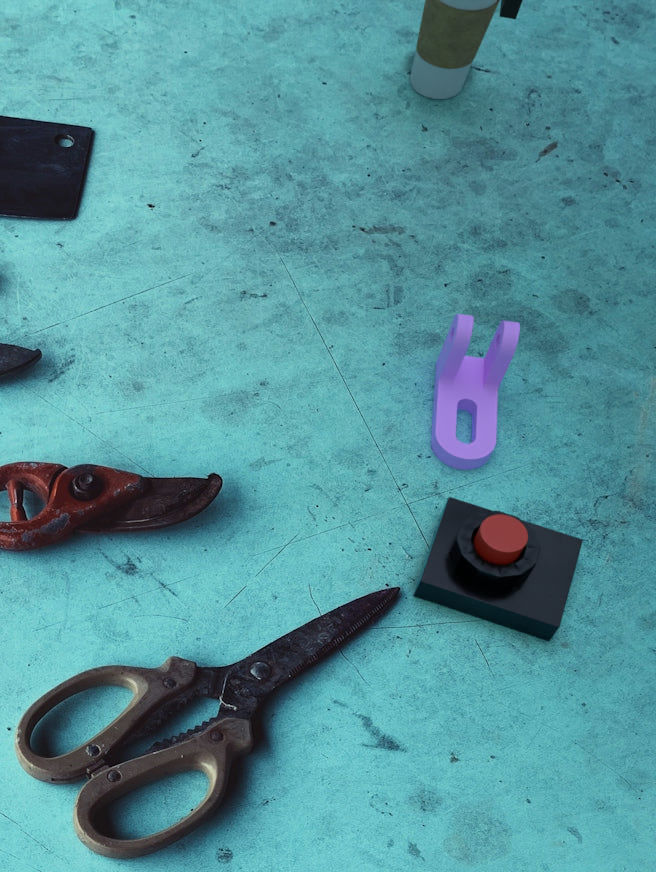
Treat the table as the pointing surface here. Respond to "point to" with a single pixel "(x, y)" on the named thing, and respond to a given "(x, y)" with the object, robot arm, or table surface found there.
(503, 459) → the table surface
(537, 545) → the switch box
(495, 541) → the button
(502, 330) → the bracket
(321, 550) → the table surface
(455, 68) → the coffee cup
